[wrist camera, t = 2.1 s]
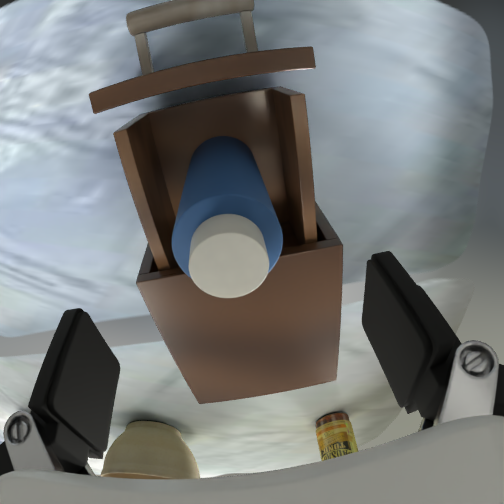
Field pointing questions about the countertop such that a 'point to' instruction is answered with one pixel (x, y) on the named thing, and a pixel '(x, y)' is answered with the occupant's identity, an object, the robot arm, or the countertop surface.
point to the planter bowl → (150, 454)
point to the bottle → (226, 221)
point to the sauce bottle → (335, 436)
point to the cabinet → (254, 323)
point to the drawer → (212, 125)
